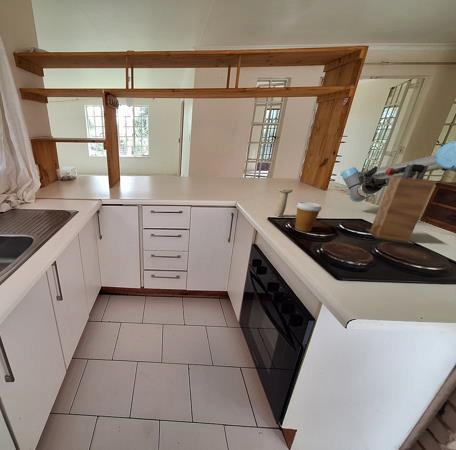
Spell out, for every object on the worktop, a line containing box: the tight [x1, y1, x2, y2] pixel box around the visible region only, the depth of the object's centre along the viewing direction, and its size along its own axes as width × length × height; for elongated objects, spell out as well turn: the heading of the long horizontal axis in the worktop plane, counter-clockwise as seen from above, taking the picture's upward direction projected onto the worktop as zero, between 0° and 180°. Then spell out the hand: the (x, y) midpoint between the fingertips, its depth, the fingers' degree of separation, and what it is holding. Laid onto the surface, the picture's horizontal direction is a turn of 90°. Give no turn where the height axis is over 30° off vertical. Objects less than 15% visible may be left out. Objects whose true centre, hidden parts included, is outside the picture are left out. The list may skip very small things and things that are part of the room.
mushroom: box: [275, 187, 293, 218], centre depth 124 cm, size 5×6×15 cm
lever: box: [385, 164, 423, 176], centre depth 100 cm, size 22×4×4 cm, turn 157°
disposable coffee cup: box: [294, 201, 322, 233], centre depth 106 cm, size 10×10×12 cm
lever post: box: [365, 165, 436, 246], centre depth 96 cm, size 12×12×31 cm
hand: (394, 170), depth 105 cm, fingers open, 13 cm apart
